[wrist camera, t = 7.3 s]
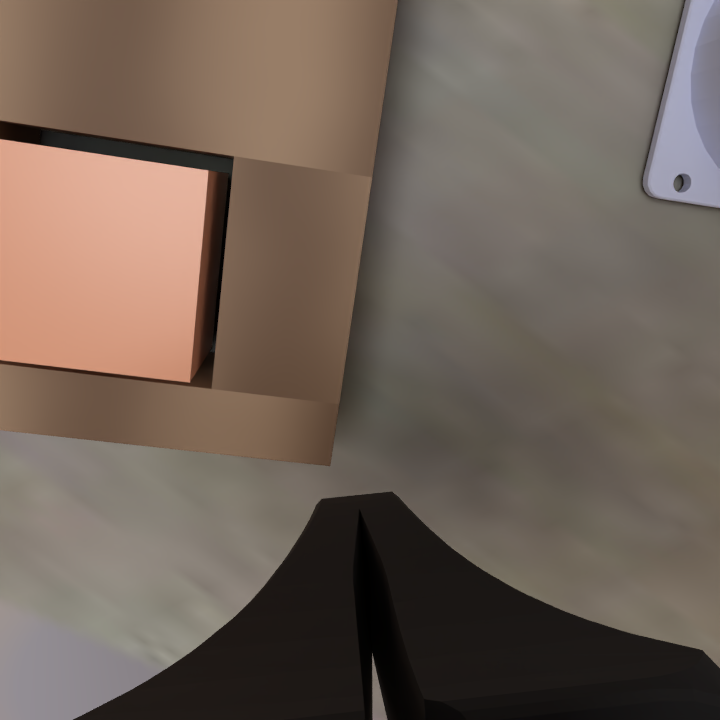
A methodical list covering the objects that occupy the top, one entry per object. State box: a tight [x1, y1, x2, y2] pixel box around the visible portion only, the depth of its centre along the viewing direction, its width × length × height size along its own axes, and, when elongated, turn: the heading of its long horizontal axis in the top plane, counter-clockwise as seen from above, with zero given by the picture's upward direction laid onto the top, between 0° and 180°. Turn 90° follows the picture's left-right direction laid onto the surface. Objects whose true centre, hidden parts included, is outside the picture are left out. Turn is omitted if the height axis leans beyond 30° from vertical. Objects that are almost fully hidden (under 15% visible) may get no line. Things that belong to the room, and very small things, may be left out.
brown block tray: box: [0, 0, 398, 466], centre depth 16 cm, size 12×19×4 cm, turn 172°
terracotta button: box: [0, 139, 228, 383], centre depth 16 cm, size 5×5×4 cm
